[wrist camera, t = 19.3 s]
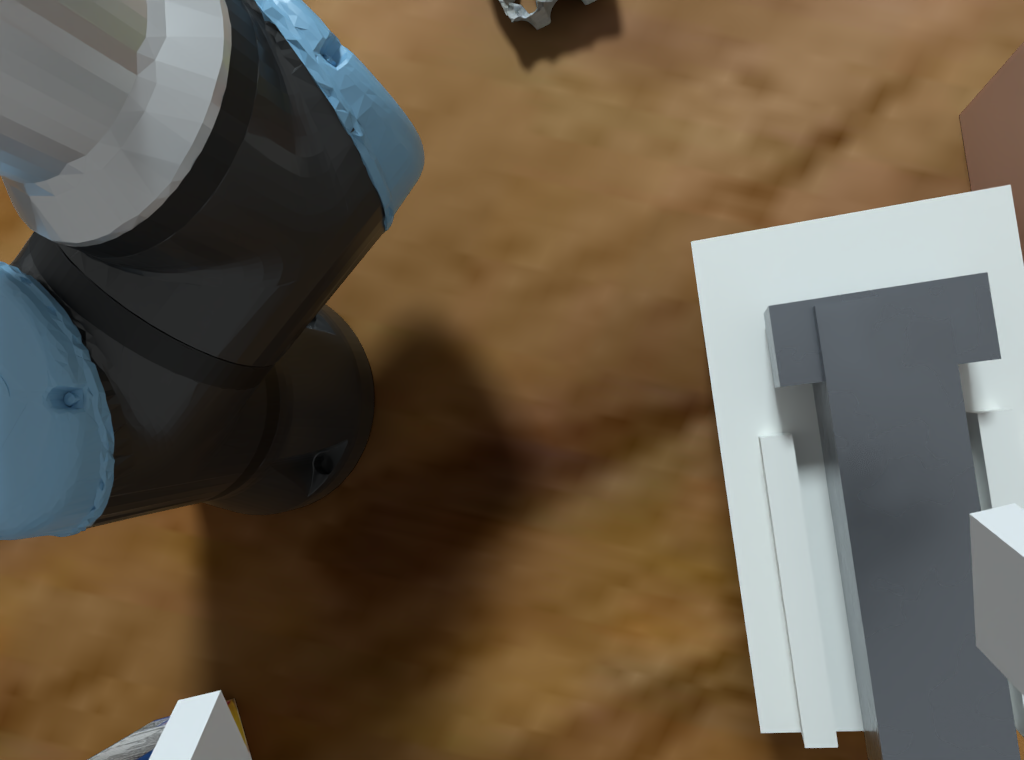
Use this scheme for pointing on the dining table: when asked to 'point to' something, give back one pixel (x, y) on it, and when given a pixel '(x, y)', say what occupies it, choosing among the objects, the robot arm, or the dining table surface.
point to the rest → (795, 432)
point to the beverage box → (152, 739)
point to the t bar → (904, 504)
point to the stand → (998, 135)
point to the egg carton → (536, 18)
